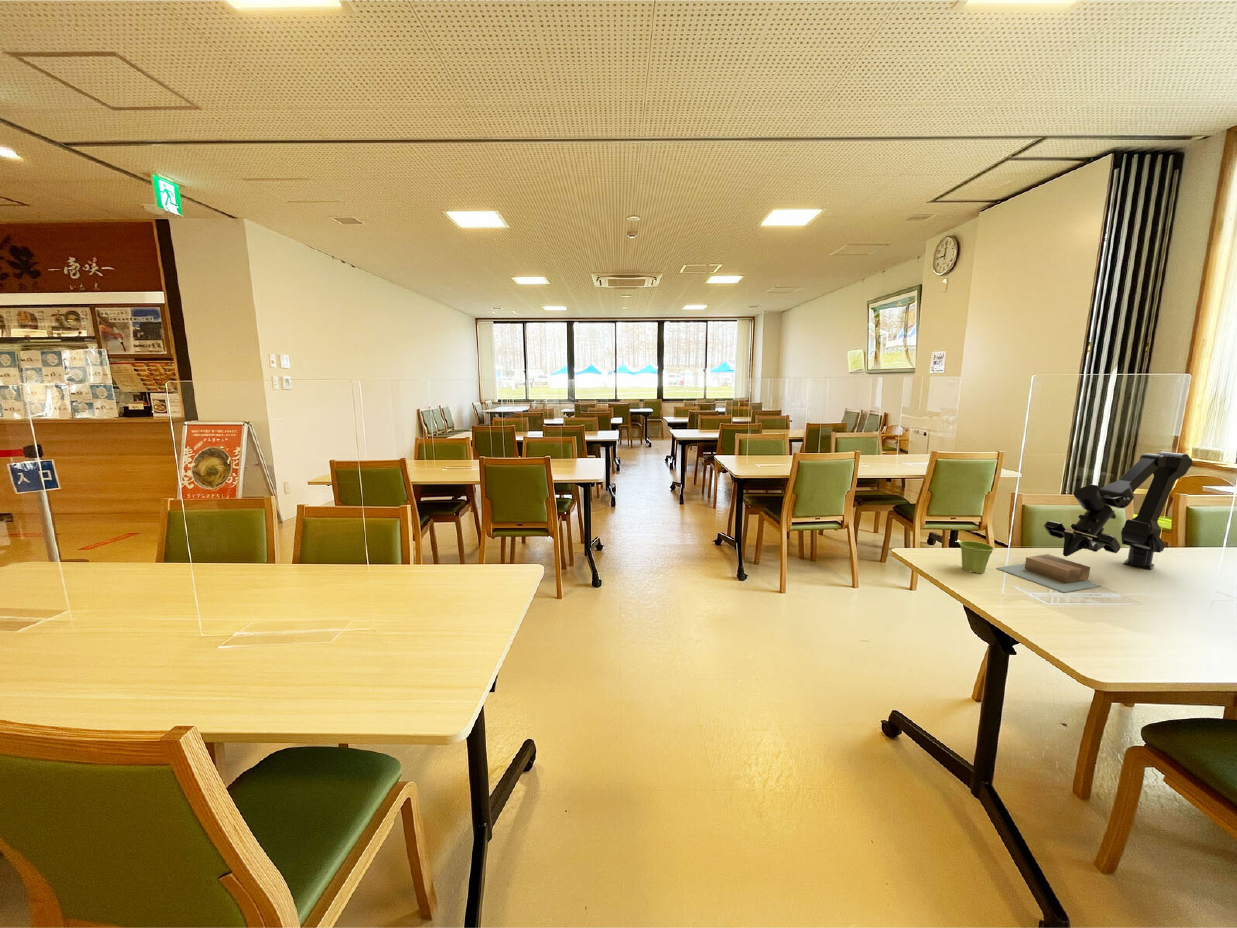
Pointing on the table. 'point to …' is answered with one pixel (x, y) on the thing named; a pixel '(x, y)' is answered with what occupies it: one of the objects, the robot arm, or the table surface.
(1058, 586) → the mat
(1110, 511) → the robot arm
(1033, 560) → the walnut block
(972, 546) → the plant pot
